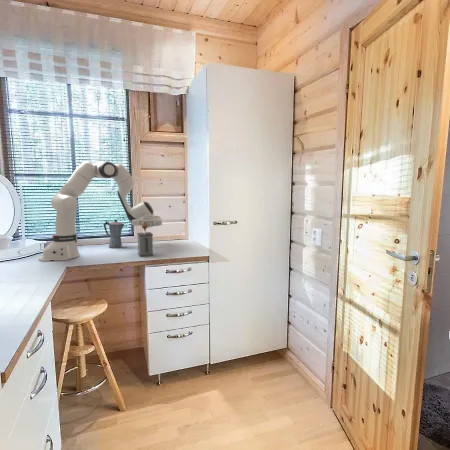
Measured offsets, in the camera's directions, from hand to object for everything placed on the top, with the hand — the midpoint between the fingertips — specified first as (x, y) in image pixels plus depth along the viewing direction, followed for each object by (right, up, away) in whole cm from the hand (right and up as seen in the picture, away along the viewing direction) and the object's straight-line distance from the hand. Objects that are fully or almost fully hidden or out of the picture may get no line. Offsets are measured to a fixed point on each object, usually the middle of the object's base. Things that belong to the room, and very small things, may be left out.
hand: (146, 223), depth 207 cm
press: (+1, -20, -6) cm, 21 cm away
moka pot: (-27, -17, +17) cm, 36 cm away
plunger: (+1, -19, -5) cm, 19 cm away
